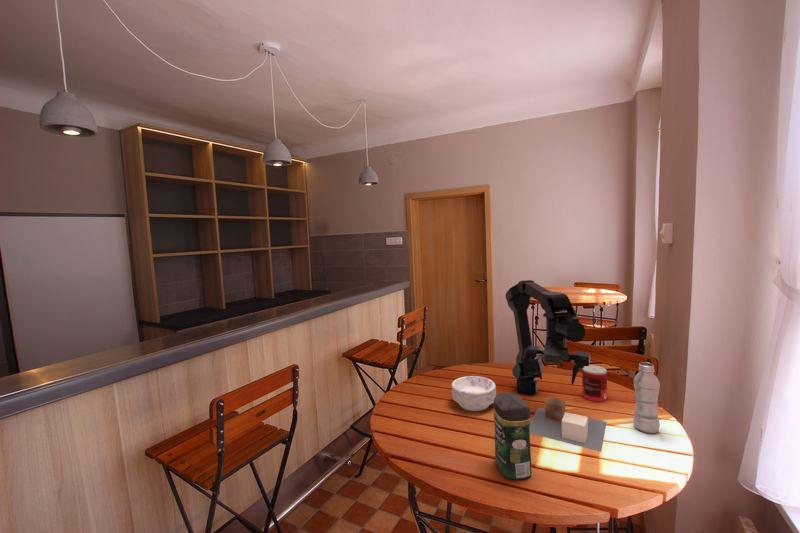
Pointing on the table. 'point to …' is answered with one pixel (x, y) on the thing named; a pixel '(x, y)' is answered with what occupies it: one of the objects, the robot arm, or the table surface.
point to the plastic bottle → (646, 399)
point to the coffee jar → (512, 436)
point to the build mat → (554, 430)
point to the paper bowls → (473, 392)
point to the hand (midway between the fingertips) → (556, 381)
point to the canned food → (594, 383)
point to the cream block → (575, 427)
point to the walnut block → (554, 408)
